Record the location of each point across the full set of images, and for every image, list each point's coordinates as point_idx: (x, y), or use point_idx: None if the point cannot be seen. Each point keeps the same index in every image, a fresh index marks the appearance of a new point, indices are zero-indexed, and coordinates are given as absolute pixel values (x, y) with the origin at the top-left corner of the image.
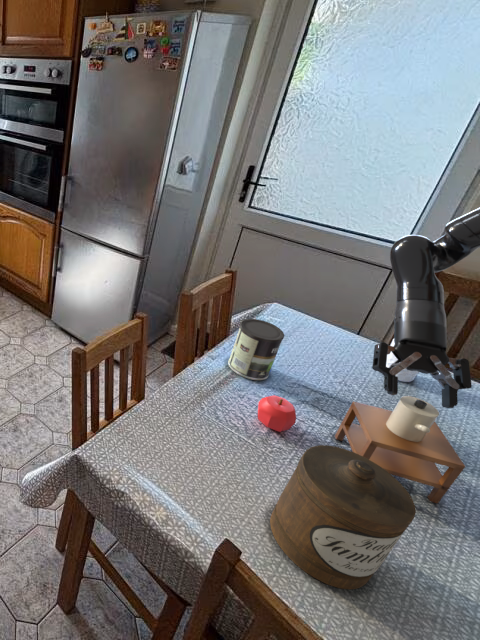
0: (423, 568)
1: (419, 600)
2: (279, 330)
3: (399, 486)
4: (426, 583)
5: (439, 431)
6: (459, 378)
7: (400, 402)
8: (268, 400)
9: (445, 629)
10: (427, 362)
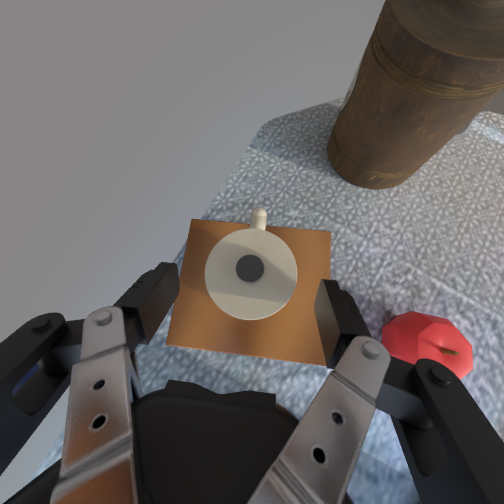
0: (275, 161)
1: (294, 131)
2: None
3: (403, 13)
4: (280, 148)
5: (178, 308)
6: (24, 403)
7: (296, 278)
8: (470, 353)
9: (284, 116)
10: (167, 476)
